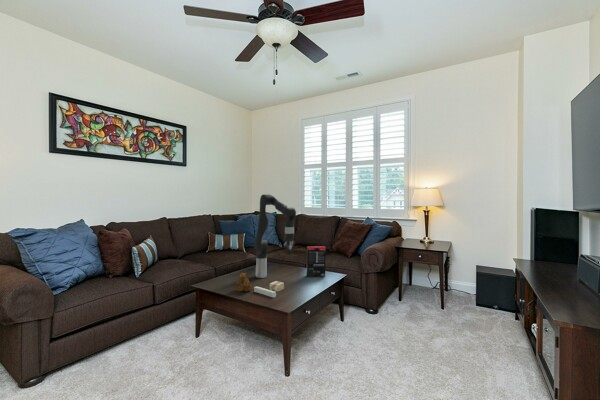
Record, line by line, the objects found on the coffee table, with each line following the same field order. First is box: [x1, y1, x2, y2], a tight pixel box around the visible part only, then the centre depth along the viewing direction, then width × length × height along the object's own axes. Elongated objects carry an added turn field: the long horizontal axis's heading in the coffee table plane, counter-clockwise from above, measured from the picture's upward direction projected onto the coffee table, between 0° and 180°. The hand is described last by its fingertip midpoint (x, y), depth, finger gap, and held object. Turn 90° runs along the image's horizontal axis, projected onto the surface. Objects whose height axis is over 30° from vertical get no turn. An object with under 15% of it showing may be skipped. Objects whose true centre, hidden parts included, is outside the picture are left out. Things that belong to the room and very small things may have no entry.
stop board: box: [253, 285, 277, 298], centre depth 210 cm, size 20×2×4 cm, turn 53°
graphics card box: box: [305, 245, 327, 278], centre depth 255 cm, size 17×7×27 cm, turn 96°
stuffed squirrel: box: [235, 272, 253, 292], centre depth 218 cm, size 10×14×13 cm
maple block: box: [269, 280, 285, 293], centre depth 220 cm, size 8×8×5 cm
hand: (289, 253), depth 224 cm, fingers closed
